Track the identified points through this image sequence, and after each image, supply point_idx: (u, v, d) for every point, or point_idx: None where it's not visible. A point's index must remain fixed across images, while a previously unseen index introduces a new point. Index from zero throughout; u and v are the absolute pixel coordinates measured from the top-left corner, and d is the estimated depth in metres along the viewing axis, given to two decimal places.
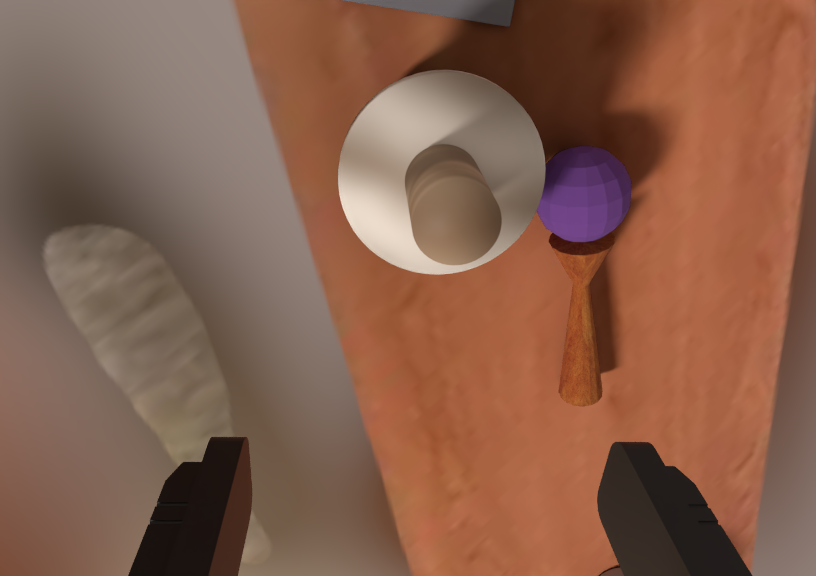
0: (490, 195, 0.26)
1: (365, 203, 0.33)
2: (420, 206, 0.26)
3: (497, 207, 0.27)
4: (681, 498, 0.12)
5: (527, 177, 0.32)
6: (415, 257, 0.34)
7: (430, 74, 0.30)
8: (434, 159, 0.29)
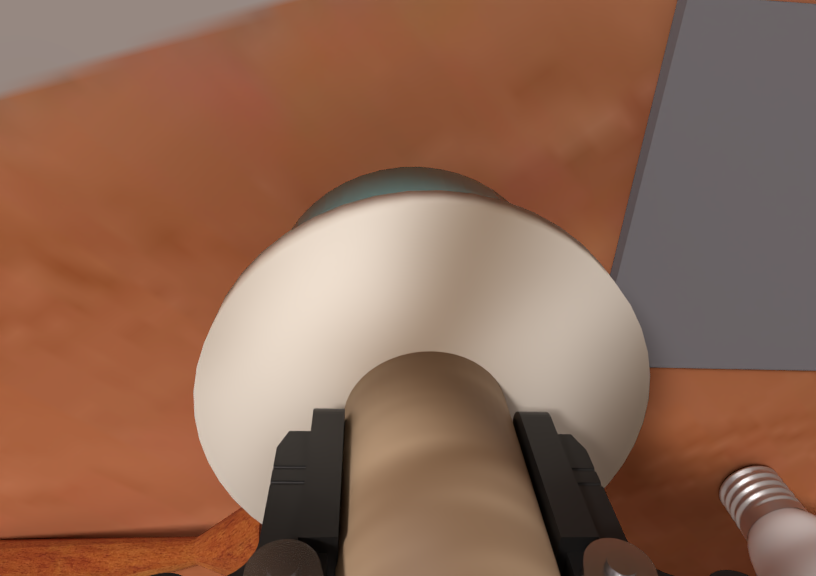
0: None
1: (358, 274, 0.13)
2: None
3: None
4: (565, 461, 0.12)
5: None
6: (231, 391, 0.14)
7: (647, 370, 0.15)
8: (523, 459, 0.12)
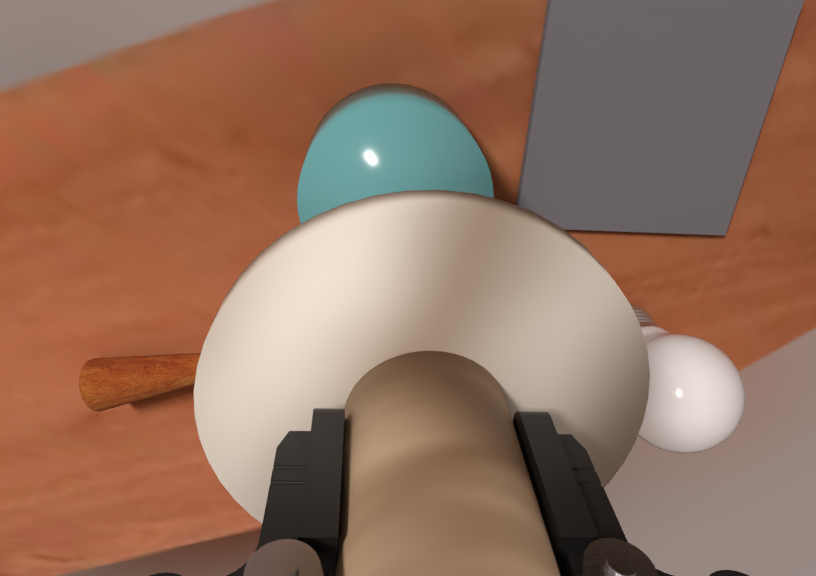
0: None
1: (358, 274, 0.13)
2: None
3: None
4: (565, 461, 0.12)
5: None
6: (231, 391, 0.14)
7: (646, 370, 0.15)
8: (523, 457, 0.13)
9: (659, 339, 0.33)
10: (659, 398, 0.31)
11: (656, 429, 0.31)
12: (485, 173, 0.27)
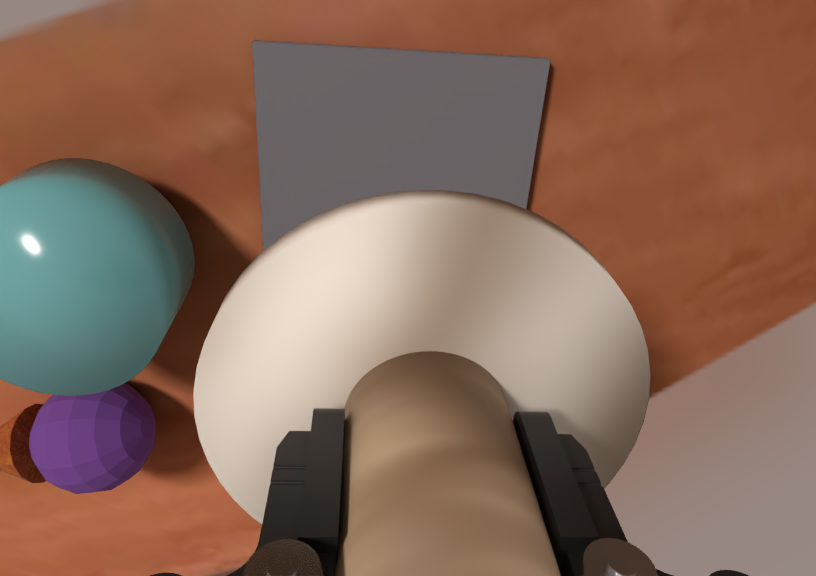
0: None
1: (358, 274, 0.13)
2: None
3: None
4: (566, 461, 0.12)
5: None
6: (231, 391, 0.14)
7: (647, 370, 0.15)
8: (523, 458, 0.12)
9: None
10: None
11: None
12: (142, 271, 0.24)
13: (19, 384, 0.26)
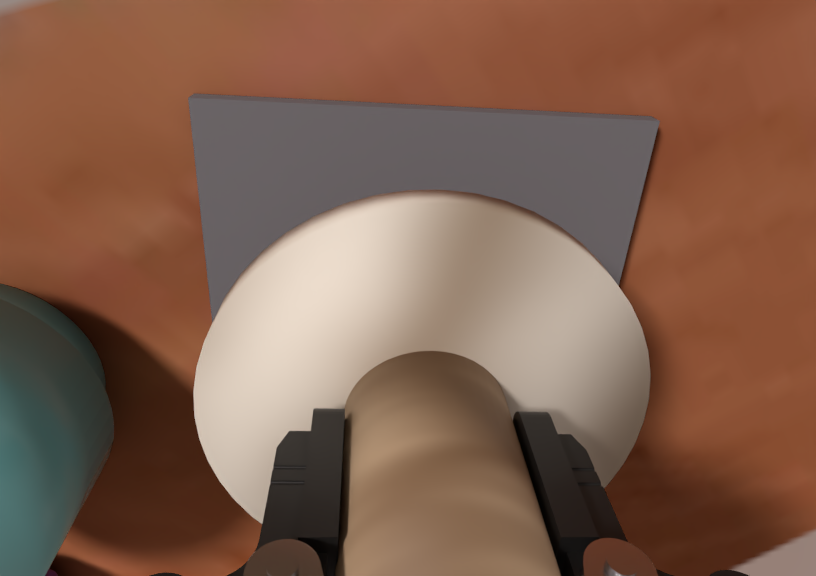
0: None
1: (358, 274, 0.13)
2: None
3: None
4: (566, 461, 0.12)
5: None
6: (232, 391, 0.14)
7: (647, 370, 0.15)
8: (523, 458, 0.12)
9: None
10: None
11: None
12: None
13: None
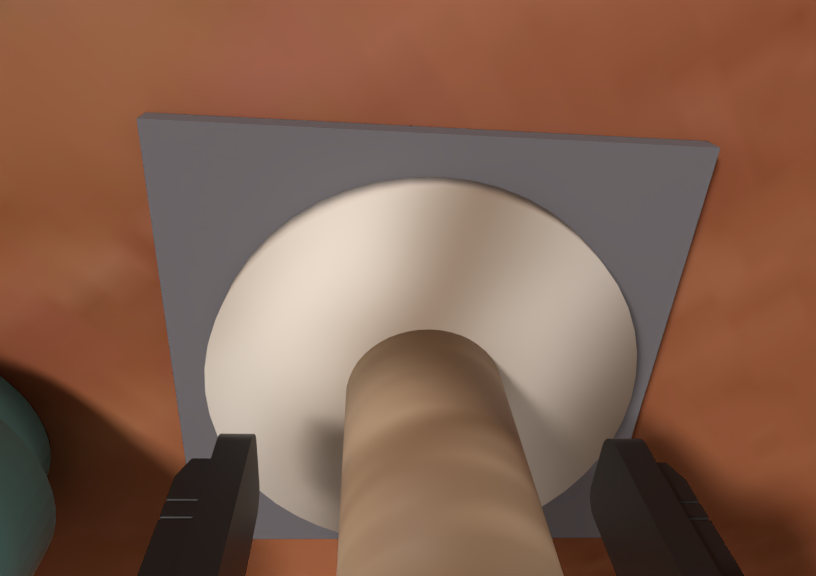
0: None
1: (361, 255, 0.14)
2: (503, 546, 0.10)
3: None
4: (671, 494, 0.12)
5: None
6: (240, 368, 0.15)
7: (634, 349, 0.15)
8: (515, 428, 0.13)
9: None
10: None
11: None
12: None
13: None
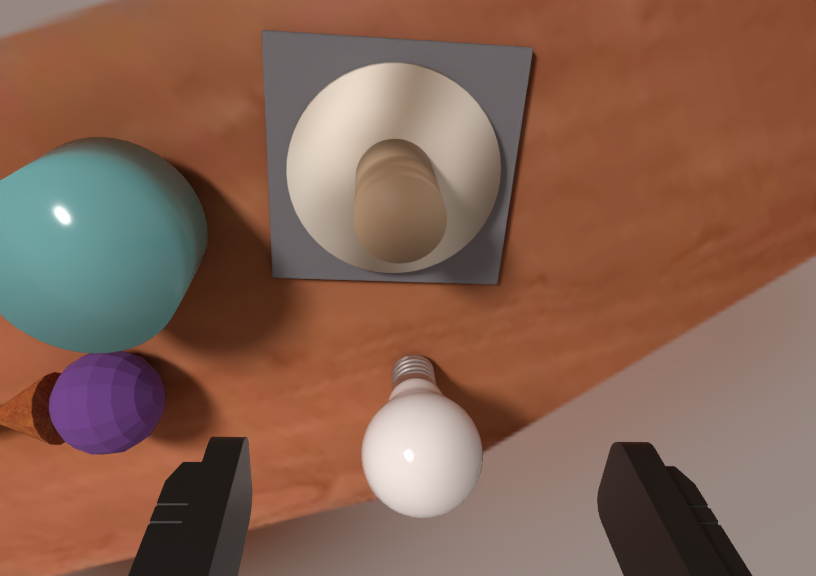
0: (433, 248, 0.27)
1: (363, 97, 0.29)
2: (418, 183, 0.25)
3: (421, 256, 0.27)
4: (681, 498, 0.12)
5: None
6: (304, 159, 0.30)
7: (498, 153, 0.31)
8: (434, 175, 0.29)
9: (399, 398, 0.32)
10: (380, 463, 0.30)
11: (382, 495, 0.30)
12: (164, 237, 0.26)
13: (50, 342, 0.28)
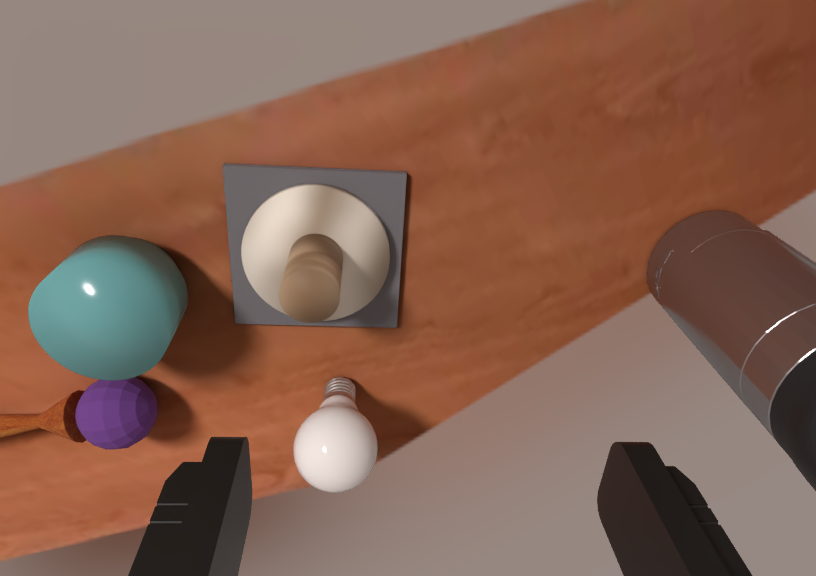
0: (332, 313, 0.41)
1: (291, 208, 0.43)
2: (319, 273, 0.39)
3: (324, 318, 0.41)
4: (681, 498, 0.12)
5: None
6: (253, 247, 0.45)
7: (387, 241, 0.45)
8: (338, 261, 0.43)
9: (320, 410, 0.46)
10: (303, 454, 0.44)
11: (305, 476, 0.44)
12: (157, 306, 0.40)
13: (81, 373, 0.43)
